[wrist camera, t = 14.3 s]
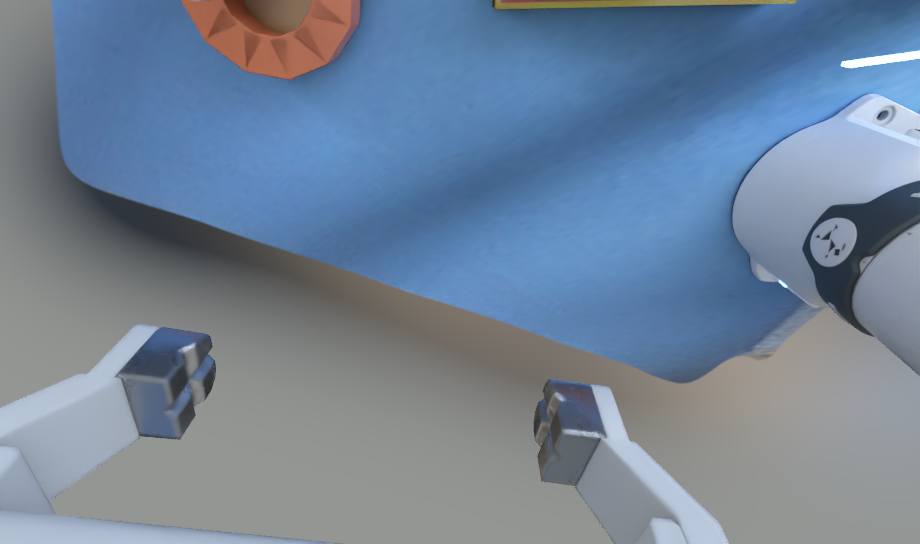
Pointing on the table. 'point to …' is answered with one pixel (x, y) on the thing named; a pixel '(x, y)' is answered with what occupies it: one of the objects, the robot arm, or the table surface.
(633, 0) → the hardcover book
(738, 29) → the table surface
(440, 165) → the table surface
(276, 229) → the table surface
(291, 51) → the ring
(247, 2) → the stand
